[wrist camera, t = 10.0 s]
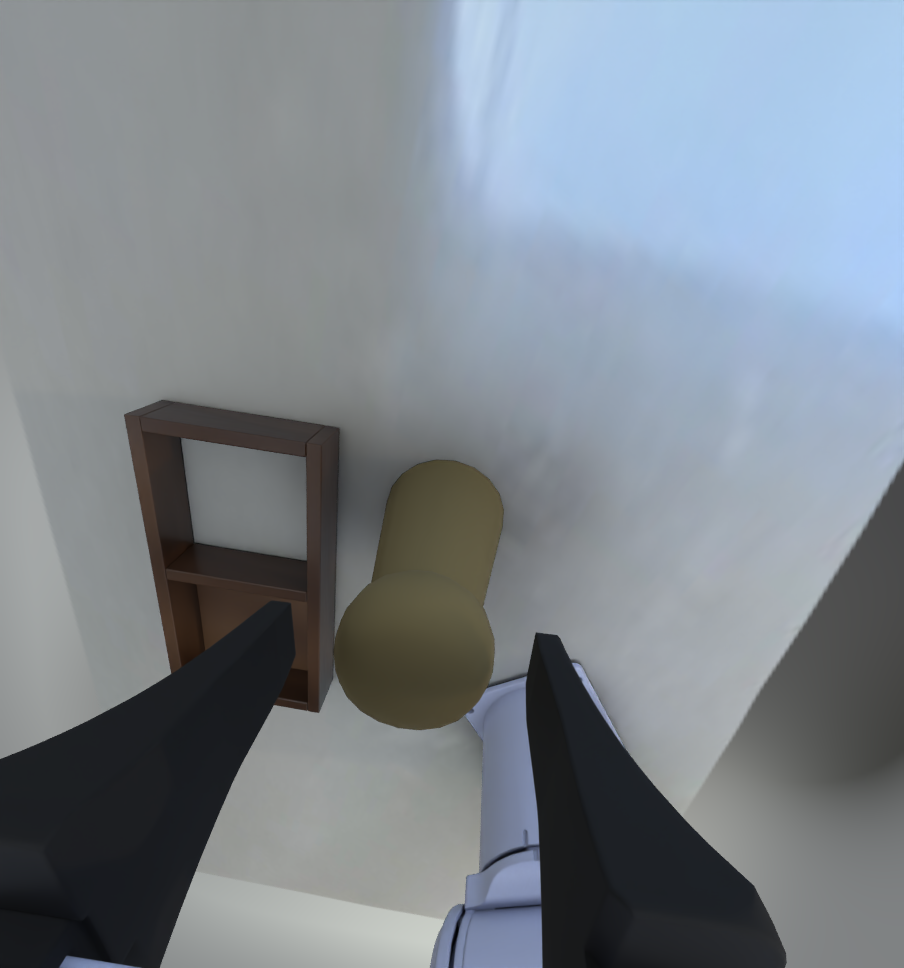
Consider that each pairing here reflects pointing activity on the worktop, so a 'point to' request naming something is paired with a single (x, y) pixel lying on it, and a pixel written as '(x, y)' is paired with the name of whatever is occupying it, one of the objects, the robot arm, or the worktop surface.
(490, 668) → the cork
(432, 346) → the worktop surface
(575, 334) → the worktop surface
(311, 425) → the caddy
